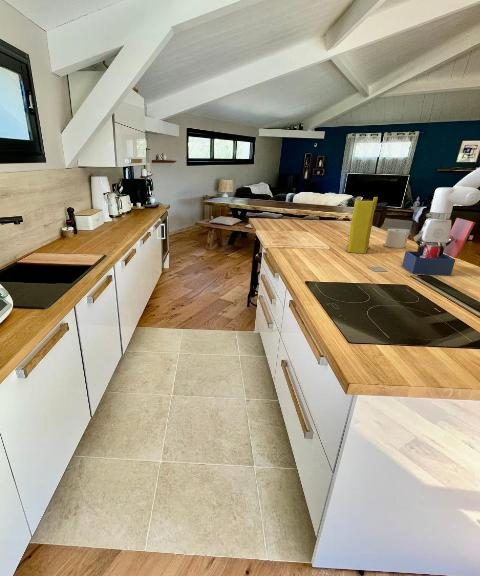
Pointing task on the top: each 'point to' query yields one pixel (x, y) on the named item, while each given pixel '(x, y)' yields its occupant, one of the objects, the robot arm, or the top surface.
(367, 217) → the decorative book
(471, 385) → the top surface
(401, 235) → the toilet tissue
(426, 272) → the blue open box
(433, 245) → the soda can
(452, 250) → the red flat board
